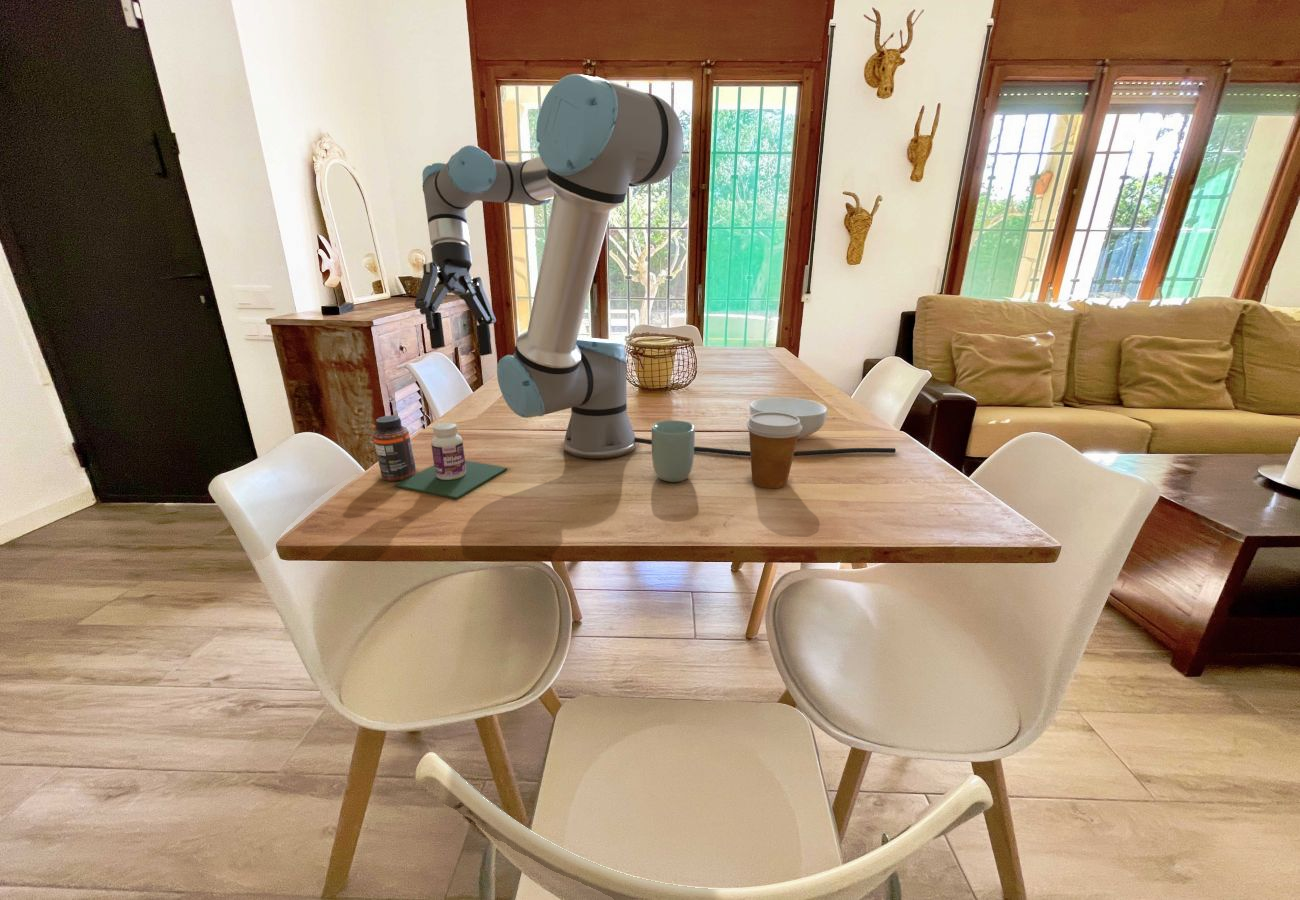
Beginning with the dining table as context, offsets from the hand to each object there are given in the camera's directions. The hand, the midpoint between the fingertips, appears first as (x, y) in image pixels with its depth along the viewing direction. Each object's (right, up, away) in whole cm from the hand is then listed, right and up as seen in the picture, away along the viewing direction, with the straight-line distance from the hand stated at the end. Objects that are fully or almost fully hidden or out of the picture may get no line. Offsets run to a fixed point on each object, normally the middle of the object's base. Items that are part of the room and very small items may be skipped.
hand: (463, 351), depth 106 cm
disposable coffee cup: (+60, -26, -11) cm, 66 cm away
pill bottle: (+1, -25, -9) cm, 27 cm away
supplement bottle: (-9, -25, -9) cm, 28 cm away
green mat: (+2, -25, -10) cm, 27 cm away
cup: (+42, -26, -10) cm, 50 cm away
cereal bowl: (+69, -17, +13) cm, 73 cm away
